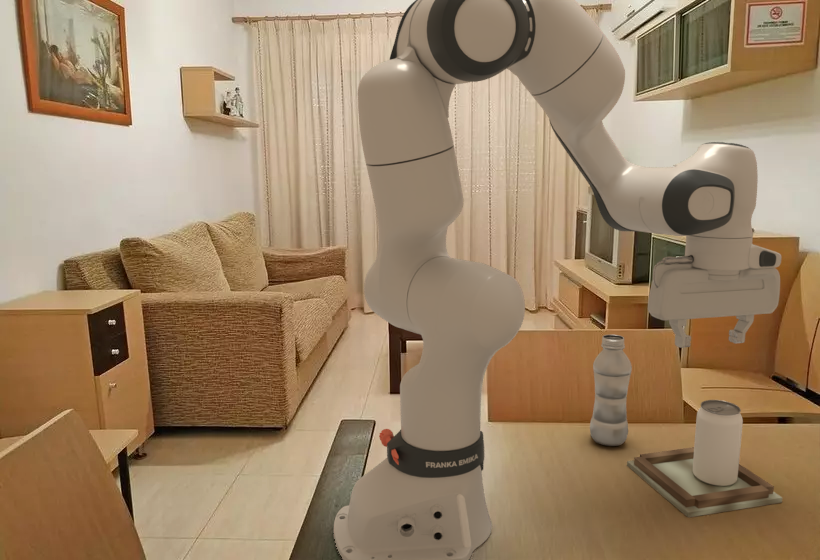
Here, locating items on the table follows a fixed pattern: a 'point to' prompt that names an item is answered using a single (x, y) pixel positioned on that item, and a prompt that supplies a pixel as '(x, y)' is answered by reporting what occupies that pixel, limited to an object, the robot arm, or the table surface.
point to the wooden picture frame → (700, 484)
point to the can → (717, 443)
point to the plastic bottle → (610, 392)
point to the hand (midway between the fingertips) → (709, 344)
